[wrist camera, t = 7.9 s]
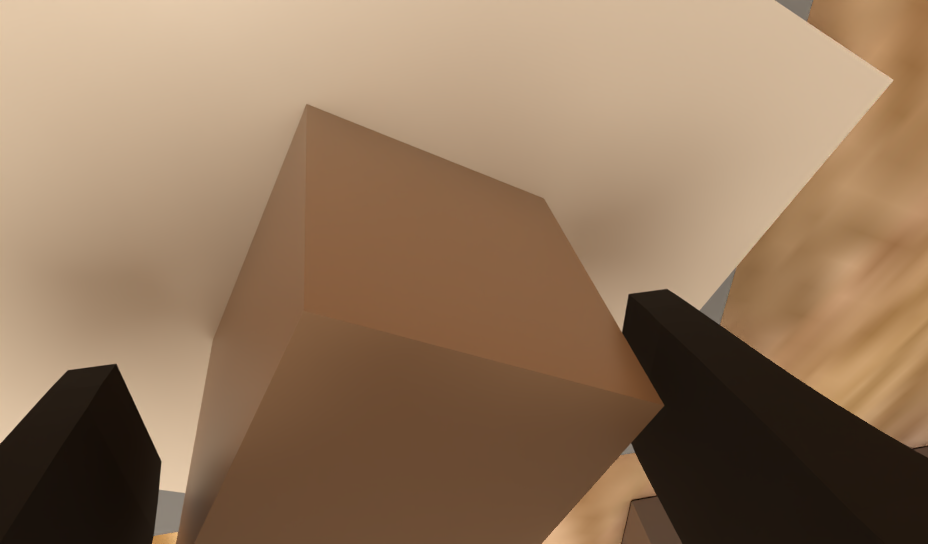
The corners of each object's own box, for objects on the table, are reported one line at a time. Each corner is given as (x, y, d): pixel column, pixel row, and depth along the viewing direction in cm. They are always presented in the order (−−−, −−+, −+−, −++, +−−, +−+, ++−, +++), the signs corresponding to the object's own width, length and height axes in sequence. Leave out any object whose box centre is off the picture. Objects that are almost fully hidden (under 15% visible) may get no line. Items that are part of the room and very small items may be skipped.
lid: (863, 65, 12) (1196, 226, 8) (502, 511, 19) (565, 746, 14) (-2, -511, 6) (-762, -1258, 2) (-97, 420, 13) (-326, 768, 8)
